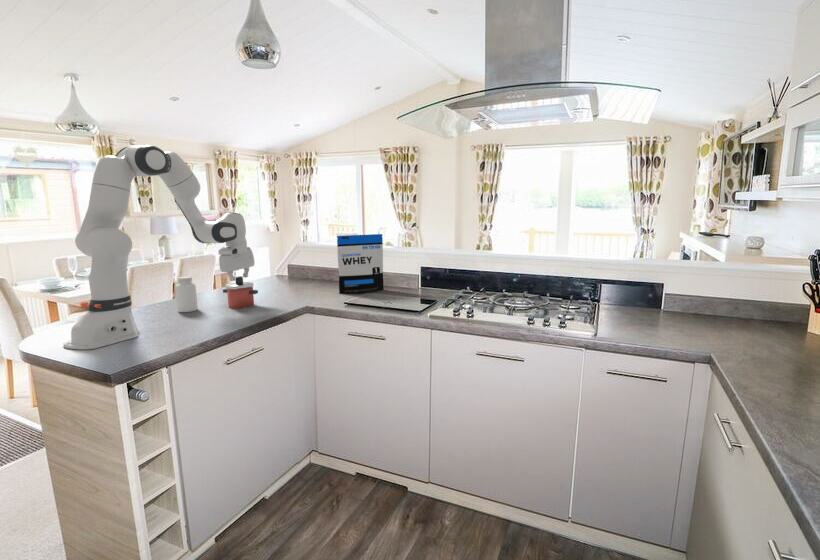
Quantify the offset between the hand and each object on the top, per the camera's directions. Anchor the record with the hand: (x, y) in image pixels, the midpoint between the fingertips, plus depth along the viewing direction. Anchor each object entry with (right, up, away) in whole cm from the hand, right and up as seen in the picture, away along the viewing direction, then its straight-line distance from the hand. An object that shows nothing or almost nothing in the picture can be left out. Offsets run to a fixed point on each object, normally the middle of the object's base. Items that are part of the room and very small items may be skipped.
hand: (239, 279), depth 197 cm
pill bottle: (-21, -14, -5) cm, 26 cm away
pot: (0, -12, +2) cm, 13 cm away
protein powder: (+53, -7, +31) cm, 61 cm away
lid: (0, -4, +1) cm, 4 cm away
